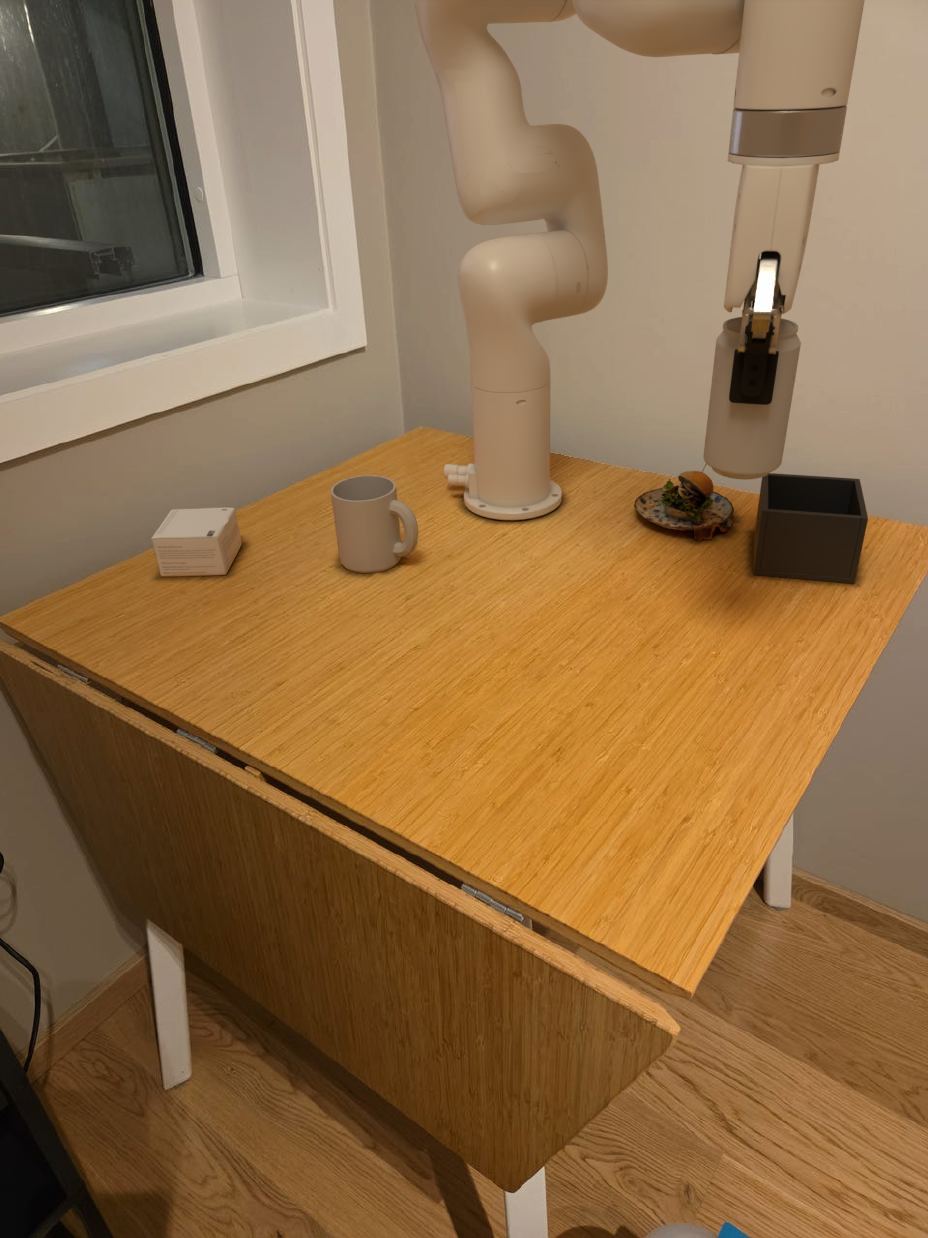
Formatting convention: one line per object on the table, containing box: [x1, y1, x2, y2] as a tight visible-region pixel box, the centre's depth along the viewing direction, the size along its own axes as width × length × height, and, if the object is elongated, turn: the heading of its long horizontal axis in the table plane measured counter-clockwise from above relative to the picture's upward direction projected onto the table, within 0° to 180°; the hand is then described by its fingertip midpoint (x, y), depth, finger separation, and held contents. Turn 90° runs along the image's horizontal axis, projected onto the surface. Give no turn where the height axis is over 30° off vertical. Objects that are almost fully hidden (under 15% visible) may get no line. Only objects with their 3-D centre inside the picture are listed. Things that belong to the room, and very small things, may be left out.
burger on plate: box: [633, 462, 735, 542], centre depth 108 cm, size 12×12×8 cm
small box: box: [150, 507, 243, 578], centre depth 105 cm, size 8×8×5 cm
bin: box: [752, 472, 869, 585], centre depth 98 cm, size 10×10×8 cm
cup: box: [330, 474, 419, 574], centre depth 101 cm, size 7×10×9 cm
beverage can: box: [702, 316, 802, 481], centre depth 73 cm, size 6×6×12 cm
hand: (751, 385), depth 73 cm, fingers closed on beverage can, 6 cm apart
